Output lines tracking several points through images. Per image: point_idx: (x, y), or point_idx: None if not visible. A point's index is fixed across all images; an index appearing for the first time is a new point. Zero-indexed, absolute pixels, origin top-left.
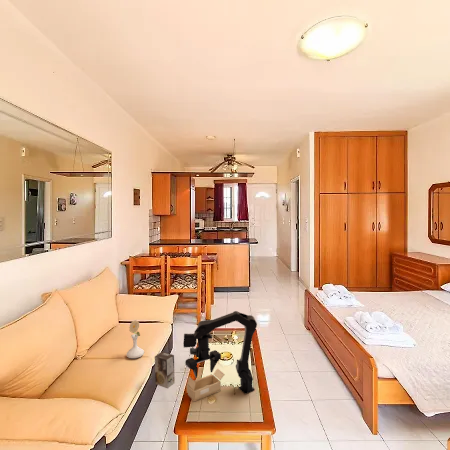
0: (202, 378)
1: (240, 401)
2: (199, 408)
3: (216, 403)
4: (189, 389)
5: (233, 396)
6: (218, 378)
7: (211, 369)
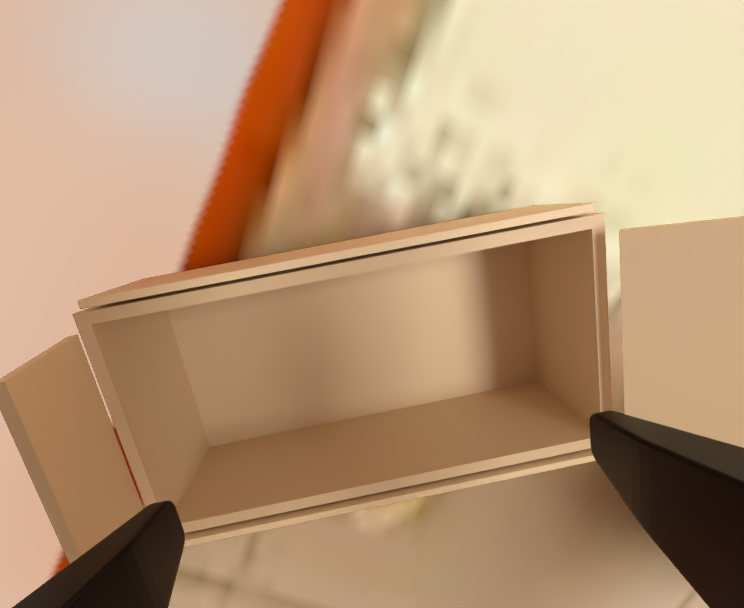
0: (393, 252)
1: (619, 585)
2: (237, 556)
3: (414, 545)
4: (129, 393)
5: (605, 509)
6: (625, 400)
7: (651, 514)
